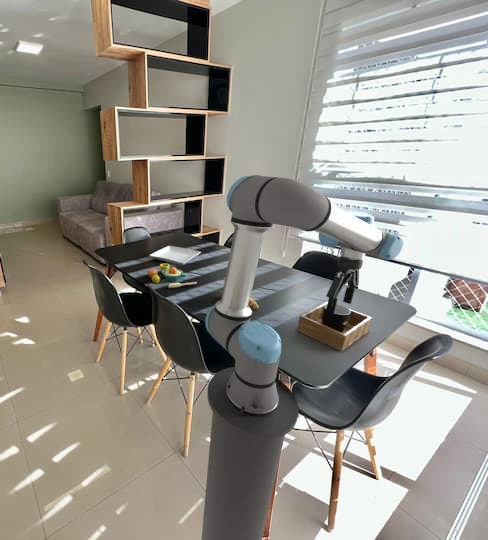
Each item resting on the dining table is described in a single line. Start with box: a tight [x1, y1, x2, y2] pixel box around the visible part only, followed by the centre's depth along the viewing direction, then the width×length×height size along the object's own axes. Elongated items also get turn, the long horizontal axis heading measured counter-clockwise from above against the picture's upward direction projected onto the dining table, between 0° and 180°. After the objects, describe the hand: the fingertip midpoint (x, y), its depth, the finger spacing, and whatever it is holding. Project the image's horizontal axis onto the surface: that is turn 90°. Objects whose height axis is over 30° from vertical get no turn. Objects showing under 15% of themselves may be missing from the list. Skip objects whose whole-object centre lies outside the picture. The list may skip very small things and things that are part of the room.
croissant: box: [218, 290, 259, 310], centre depth 139 cm, size 21×10×8 cm, turn 45°
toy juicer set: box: [148, 262, 198, 289], centre depth 164 cm, size 29×18×8 cm, turn 36°
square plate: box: [149, 245, 202, 266], centre depth 202 cm, size 27×27×4 cm
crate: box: [296, 300, 373, 352], centre depth 116 cm, size 22×17×7 cm
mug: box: [322, 304, 351, 333], centre depth 115 cm, size 12×9×10 cm
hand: (338, 307), depth 113 cm, fingers open, 13 cm apart
